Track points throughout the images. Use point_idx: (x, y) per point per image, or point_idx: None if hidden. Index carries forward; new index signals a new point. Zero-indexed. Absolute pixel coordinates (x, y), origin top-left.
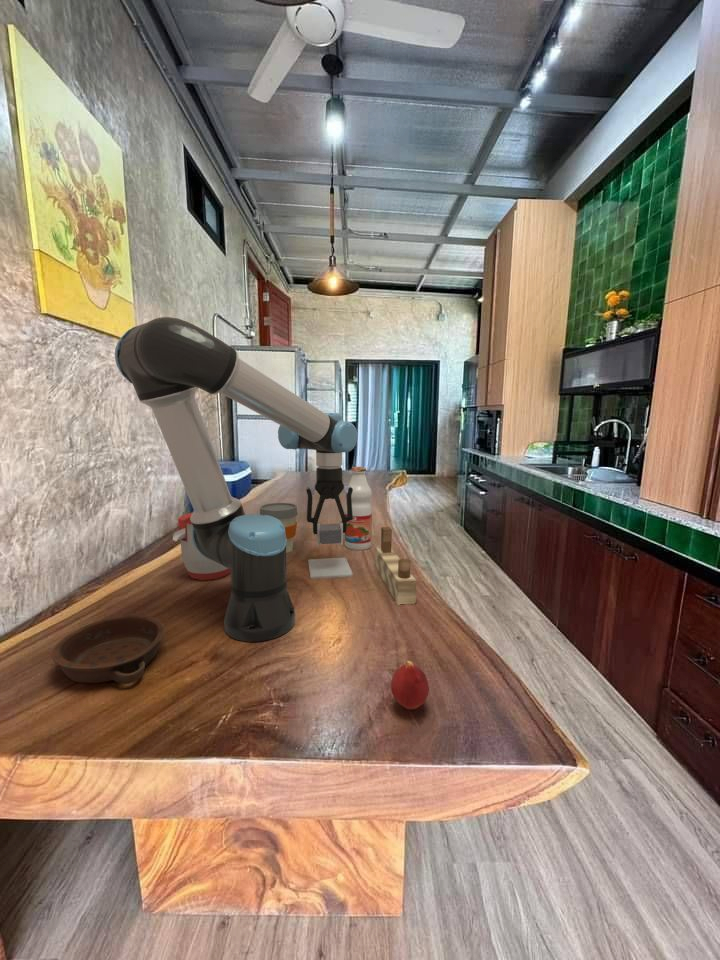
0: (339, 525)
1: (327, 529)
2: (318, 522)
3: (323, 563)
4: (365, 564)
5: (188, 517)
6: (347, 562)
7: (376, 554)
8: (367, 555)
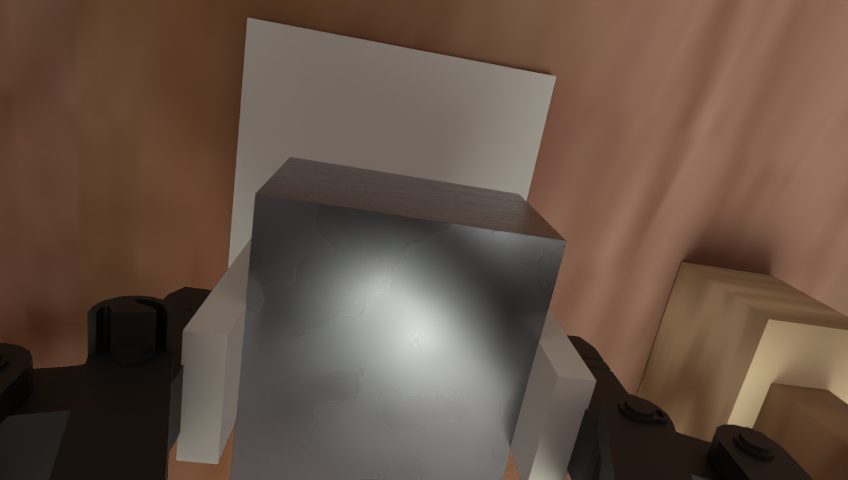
0: (534, 369)
1: (329, 469)
2: (209, 365)
3: (352, 148)
4: (637, 215)
5: None
6: (527, 182)
7: (725, 332)
8: (742, 40)
